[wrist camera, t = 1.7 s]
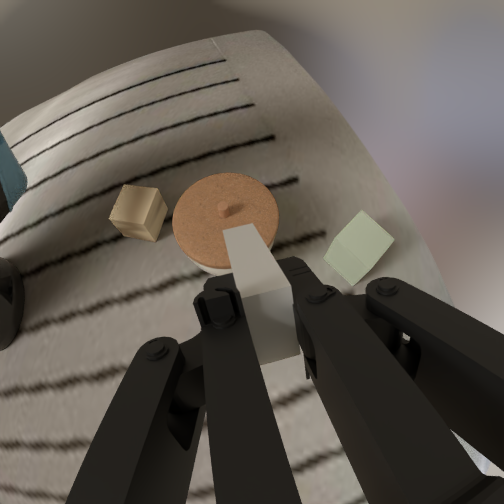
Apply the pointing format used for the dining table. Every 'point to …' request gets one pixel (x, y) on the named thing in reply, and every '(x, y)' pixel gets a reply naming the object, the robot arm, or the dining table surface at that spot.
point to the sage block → (358, 247)
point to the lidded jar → (222, 217)
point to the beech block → (139, 212)
